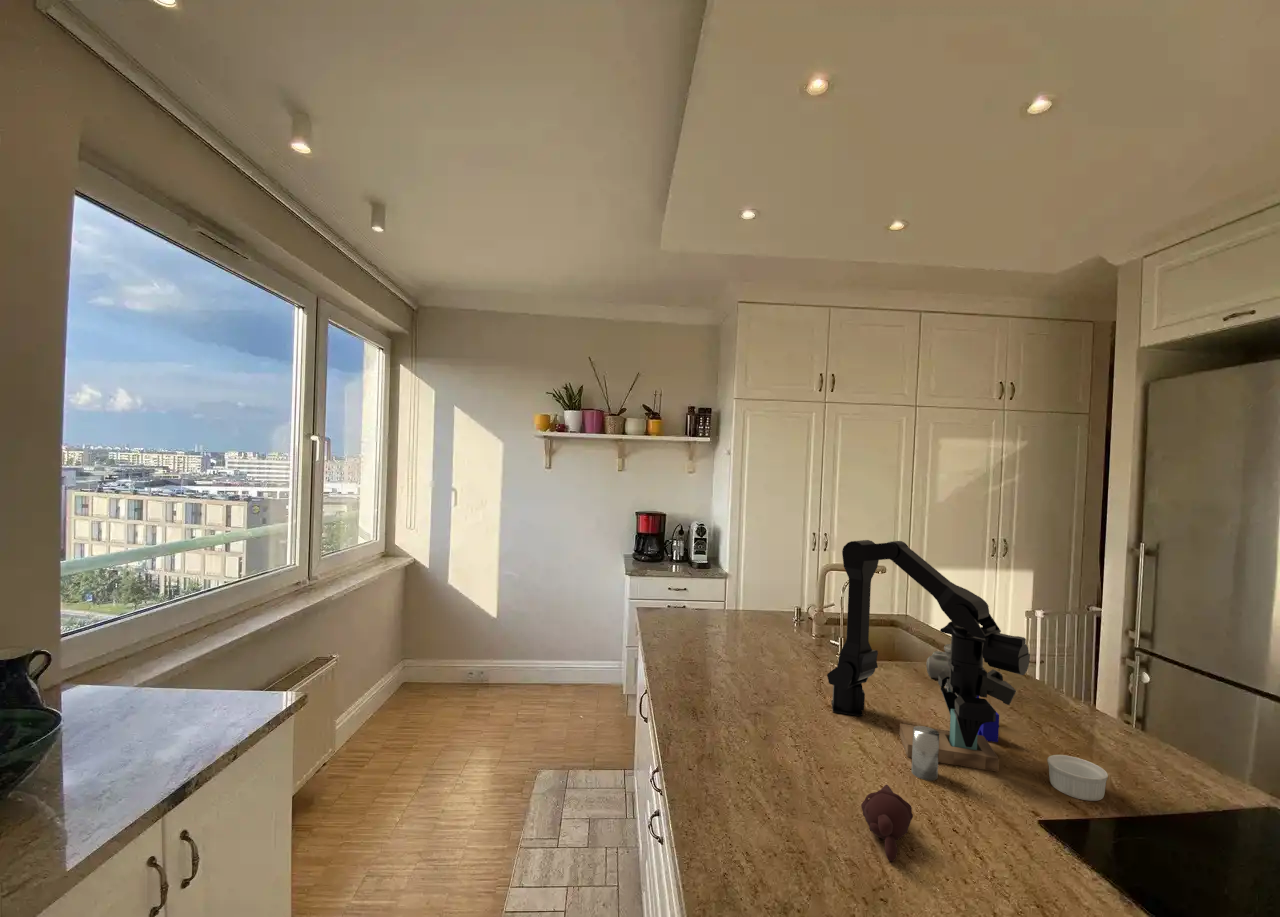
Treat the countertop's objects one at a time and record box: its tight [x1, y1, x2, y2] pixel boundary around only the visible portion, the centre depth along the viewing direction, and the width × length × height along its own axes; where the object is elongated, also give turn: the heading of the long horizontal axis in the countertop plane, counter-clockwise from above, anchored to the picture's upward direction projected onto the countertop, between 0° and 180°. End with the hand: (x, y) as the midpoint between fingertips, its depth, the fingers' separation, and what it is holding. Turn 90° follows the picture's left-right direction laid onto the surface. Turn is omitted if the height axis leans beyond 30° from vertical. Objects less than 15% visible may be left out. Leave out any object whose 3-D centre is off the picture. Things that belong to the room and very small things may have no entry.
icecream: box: [860, 784, 914, 862], centre depth 92 cm, size 7×7×15 cm
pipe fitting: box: [925, 643, 951, 680], centre depth 162 cm, size 12×8×10 cm
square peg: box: [949, 709, 978, 750], centre depth 119 cm, size 4×4×8 cm
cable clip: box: [977, 696, 1000, 743], centre depth 132 cm, size 12×4×6 cm, turn 171°
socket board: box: [898, 723, 1000, 772], centre depth 120 cm, size 16×10×2 cm, turn 75°
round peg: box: [910, 725, 939, 782], centre depth 111 cm, size 4×4×8 cm
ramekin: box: [1046, 754, 1109, 802], centre depth 108 cm, size 9×9×4 cm
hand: (963, 737), depth 119 cm, fingers open, 8 cm apart
